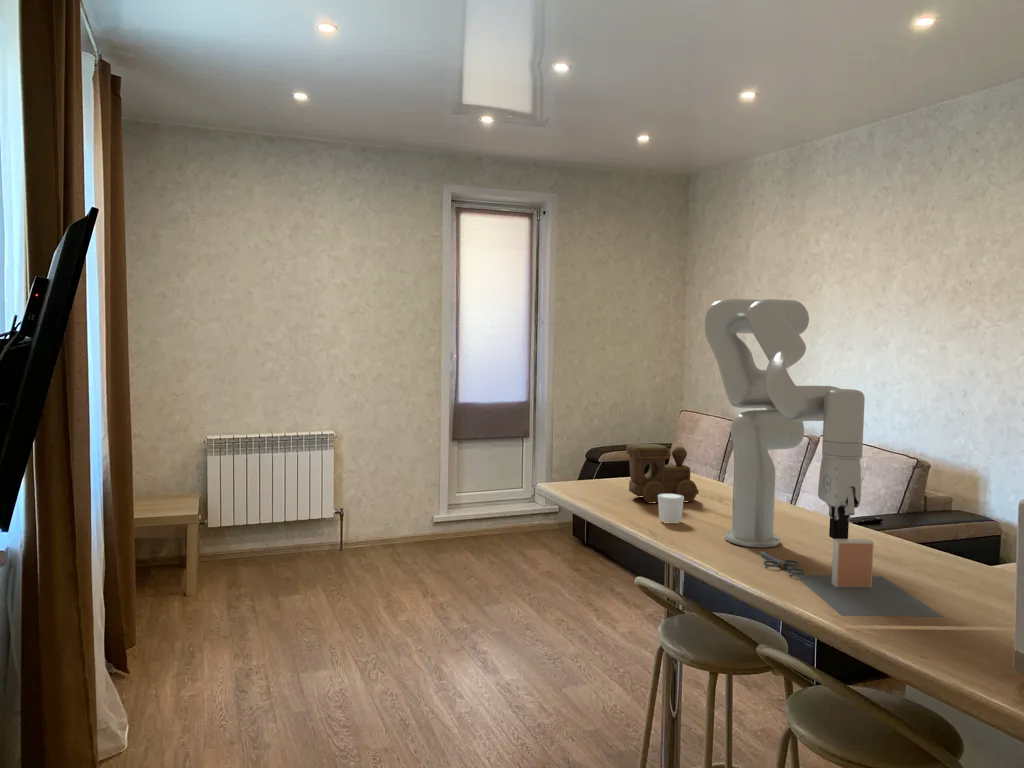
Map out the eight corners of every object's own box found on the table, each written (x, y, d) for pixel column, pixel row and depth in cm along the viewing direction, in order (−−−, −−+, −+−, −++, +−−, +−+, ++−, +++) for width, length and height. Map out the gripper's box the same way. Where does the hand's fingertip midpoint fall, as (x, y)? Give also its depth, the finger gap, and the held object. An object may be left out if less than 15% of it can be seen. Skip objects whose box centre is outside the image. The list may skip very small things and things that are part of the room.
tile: (831, 583, 148) (833, 538, 147) (866, 583, 148) (868, 539, 147) (836, 587, 146) (838, 542, 145) (872, 587, 146) (874, 542, 145)
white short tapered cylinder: (655, 523, 196) (655, 497, 195) (658, 517, 202) (659, 491, 202) (681, 525, 193) (682, 499, 193) (684, 519, 200) (685, 494, 199)
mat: (794, 577, 153) (794, 574, 153) (881, 578, 153) (881, 576, 153) (841, 618, 131) (841, 615, 131) (943, 619, 131) (943, 616, 131)
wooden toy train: (637, 505, 216) (639, 448, 215) (623, 497, 227) (624, 443, 226) (701, 503, 220) (702, 447, 219) (684, 495, 231) (685, 441, 230)
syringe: (772, 553, 169) (773, 546, 169) (817, 577, 152) (817, 568, 152) (741, 554, 168) (741, 547, 168) (782, 578, 150) (782, 570, 150)
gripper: (809, 444, 159) (805, 528, 160) (839, 455, 144) (836, 548, 146) (844, 444, 159) (840, 529, 160) (878, 455, 144) (874, 548, 146)
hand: (838, 538), depth 153 cm, fingers closed
